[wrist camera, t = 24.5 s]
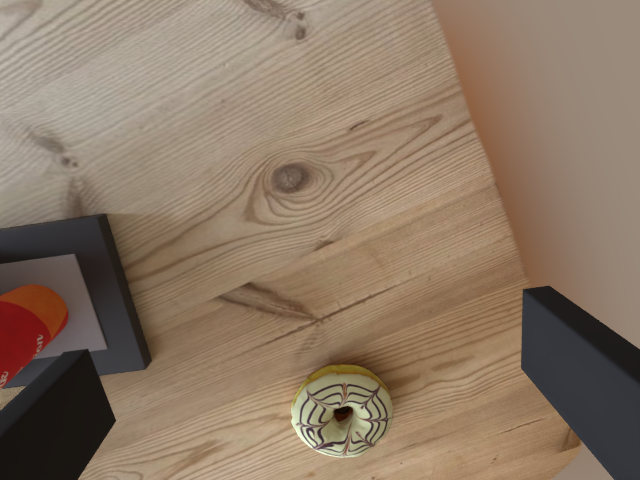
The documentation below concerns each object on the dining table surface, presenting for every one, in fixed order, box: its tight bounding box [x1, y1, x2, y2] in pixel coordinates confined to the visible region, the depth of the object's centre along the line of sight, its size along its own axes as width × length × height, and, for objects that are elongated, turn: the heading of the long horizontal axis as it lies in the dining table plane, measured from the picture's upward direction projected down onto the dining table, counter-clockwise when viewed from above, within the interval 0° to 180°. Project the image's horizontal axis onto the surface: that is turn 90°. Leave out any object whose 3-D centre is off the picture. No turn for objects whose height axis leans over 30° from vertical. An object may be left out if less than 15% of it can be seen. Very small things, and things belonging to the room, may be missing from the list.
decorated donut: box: [291, 364, 393, 458], centre depth 40 cm, size 10×11×4 cm
